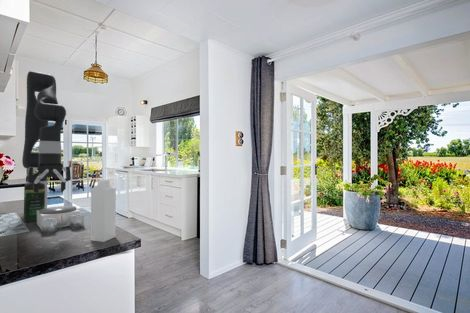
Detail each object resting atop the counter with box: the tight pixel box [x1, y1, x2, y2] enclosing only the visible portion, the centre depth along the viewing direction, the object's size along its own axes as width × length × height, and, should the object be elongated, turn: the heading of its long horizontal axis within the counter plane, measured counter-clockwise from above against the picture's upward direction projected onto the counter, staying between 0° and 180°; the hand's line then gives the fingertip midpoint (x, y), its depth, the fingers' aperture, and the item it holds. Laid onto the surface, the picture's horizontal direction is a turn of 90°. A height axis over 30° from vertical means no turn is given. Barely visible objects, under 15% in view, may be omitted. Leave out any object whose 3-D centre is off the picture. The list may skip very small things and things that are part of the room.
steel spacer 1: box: [41, 218, 58, 234], centre depth 106 cm, size 5×5×5 cm
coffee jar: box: [23, 182, 45, 223], centre depth 124 cm, size 10×8×19 cm
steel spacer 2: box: [70, 213, 85, 230], centre depth 113 cm, size 5×5×5 cm
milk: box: [90, 179, 117, 243], centre depth 97 cm, size 6×6×22 cm
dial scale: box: [36, 205, 81, 231], centre depth 118 cm, size 14×14×7 cm
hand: (49, 192), depth 106 cm, fingers open, 8 cm apart
